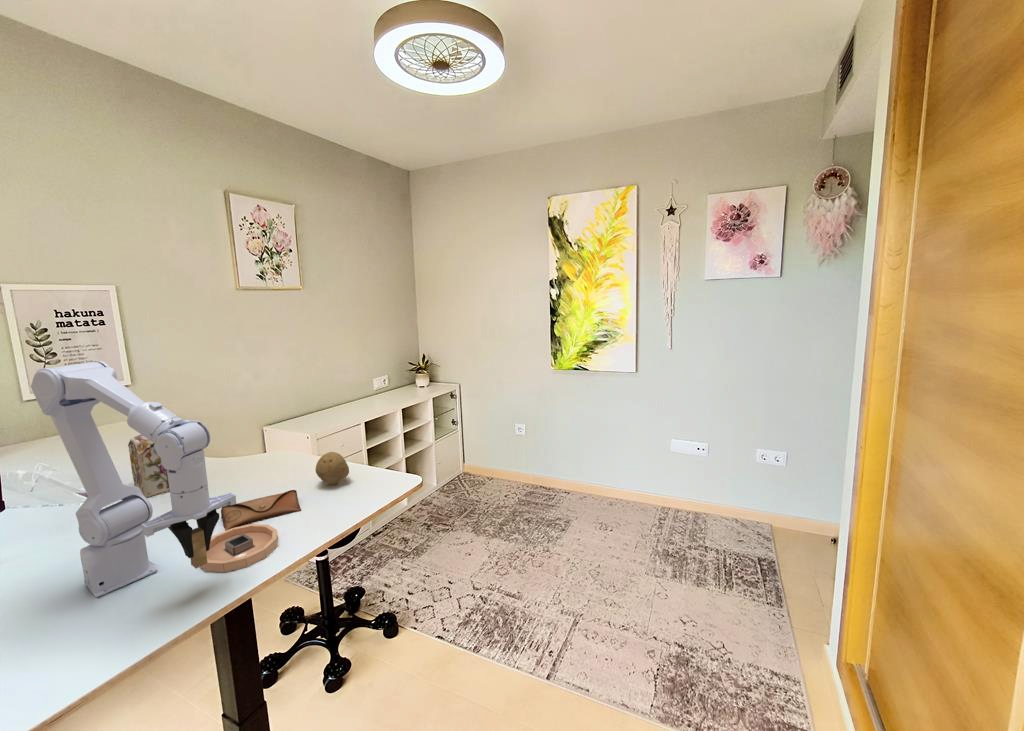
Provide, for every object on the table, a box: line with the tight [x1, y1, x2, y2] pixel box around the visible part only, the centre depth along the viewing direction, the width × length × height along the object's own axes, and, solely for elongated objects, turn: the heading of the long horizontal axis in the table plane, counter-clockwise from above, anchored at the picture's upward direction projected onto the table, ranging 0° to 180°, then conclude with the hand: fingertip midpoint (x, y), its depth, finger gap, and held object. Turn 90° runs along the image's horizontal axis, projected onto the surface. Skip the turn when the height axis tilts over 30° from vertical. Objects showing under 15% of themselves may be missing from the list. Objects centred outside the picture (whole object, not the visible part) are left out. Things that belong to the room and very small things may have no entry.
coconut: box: [315, 451, 350, 486], centre depth 128 cm, size 9×9×10 cm
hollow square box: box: [223, 534, 255, 557], centre depth 95 cm, size 5×5×2 cm
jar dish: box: [199, 523, 279, 573], centre depth 95 cm, size 15×15×2 cm
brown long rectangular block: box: [189, 526, 207, 569], centre depth 82 cm, size 2×2×7 cm
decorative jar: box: [127, 434, 170, 499], centre depth 125 cm, size 12×12×18 cm
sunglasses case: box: [220, 489, 302, 531], centre depth 111 cm, size 18×7×7 cm, turn 127°
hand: (197, 552), depth 82 cm, fingers closed on brown long rectangular block, 2 cm apart
